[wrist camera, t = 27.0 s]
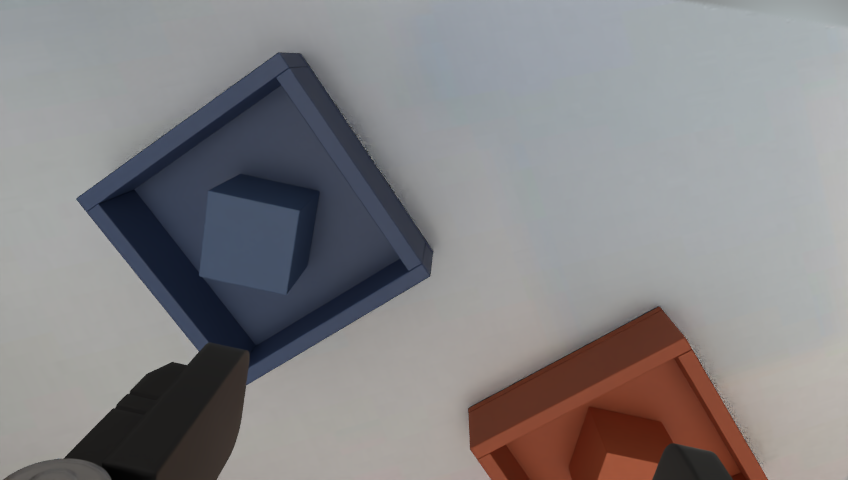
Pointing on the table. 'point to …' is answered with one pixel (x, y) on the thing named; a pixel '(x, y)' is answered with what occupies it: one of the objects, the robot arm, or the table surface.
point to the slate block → (258, 233)
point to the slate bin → (277, 161)
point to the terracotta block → (618, 447)
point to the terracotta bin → (607, 404)
